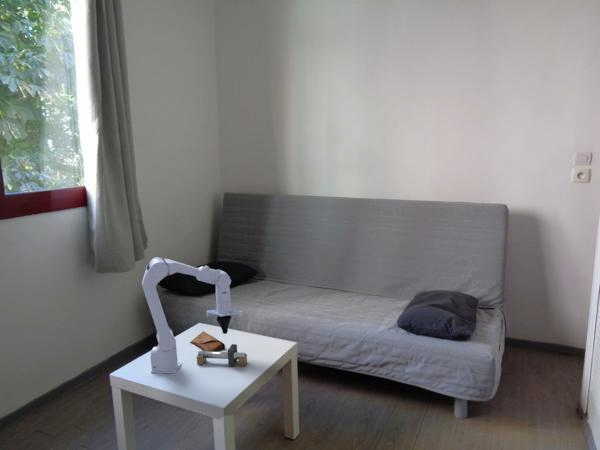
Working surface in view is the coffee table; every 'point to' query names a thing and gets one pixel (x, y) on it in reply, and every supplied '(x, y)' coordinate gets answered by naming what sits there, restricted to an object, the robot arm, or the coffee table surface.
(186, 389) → the coffee table surface
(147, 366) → the coffee table surface
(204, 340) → the sunglasses case
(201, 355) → the pipe
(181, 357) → the coffee table surface
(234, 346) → the ring
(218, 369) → the coffee table surface
